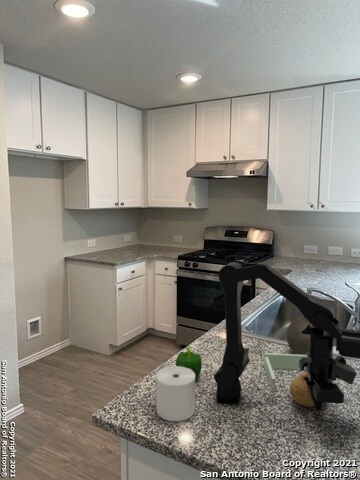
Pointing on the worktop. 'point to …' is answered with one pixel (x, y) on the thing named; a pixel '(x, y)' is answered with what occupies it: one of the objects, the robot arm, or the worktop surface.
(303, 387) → the potato
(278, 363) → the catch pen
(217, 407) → the worktop surface
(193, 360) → the bell pepper
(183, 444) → the worktop surface
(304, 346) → the cantaloupe
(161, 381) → the toilet tissue
